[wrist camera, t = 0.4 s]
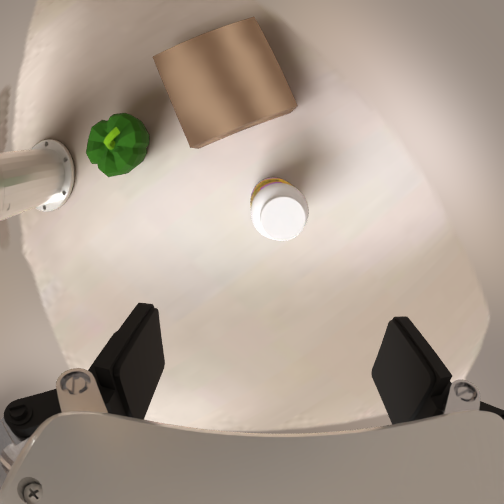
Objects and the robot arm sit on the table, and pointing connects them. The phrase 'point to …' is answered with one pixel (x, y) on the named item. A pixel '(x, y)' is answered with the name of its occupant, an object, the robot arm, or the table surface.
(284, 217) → the supplement bottle
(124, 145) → the bell pepper
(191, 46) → the walnut block
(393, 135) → the table surface
